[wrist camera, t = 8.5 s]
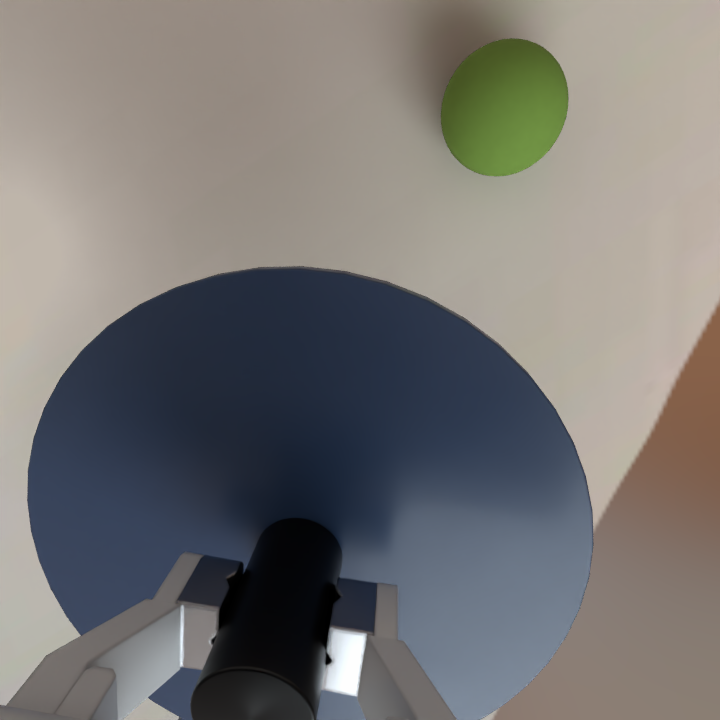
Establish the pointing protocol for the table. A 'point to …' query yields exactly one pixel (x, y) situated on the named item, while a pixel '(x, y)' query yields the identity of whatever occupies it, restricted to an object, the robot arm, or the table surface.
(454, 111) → the guava
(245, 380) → the pot lid
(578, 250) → the table surface
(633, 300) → the table surface
